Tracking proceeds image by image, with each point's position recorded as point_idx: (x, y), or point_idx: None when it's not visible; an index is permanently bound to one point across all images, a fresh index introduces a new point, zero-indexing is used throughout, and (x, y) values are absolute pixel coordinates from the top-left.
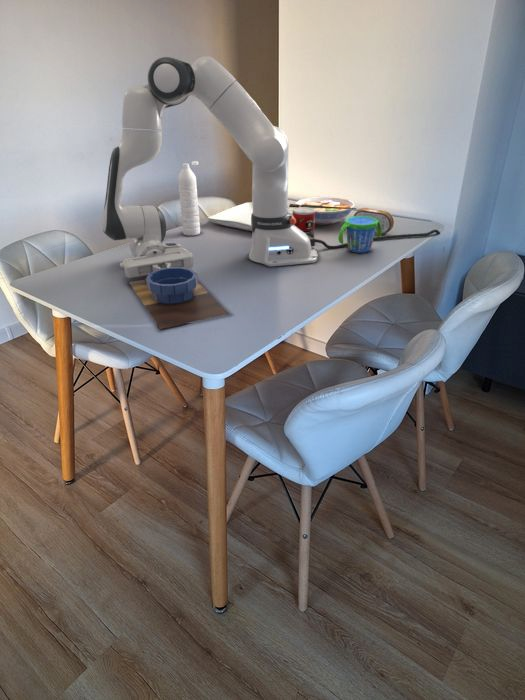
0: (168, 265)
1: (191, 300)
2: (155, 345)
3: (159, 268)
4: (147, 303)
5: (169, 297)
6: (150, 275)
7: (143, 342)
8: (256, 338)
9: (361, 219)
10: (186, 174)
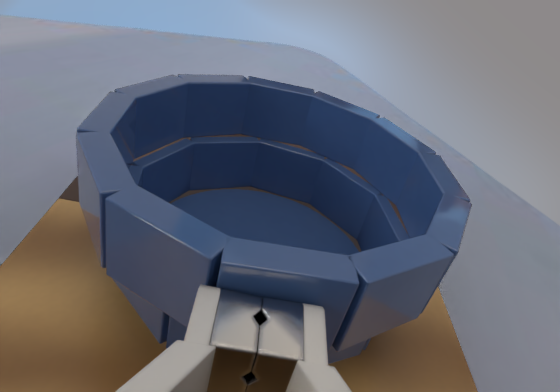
0: (168, 367)
1: (198, 191)
2: (400, 117)
3: (321, 350)
4: None
5: (319, 177)
6: (439, 220)
7: (429, 134)
8: (182, 43)
9: None
10: None
